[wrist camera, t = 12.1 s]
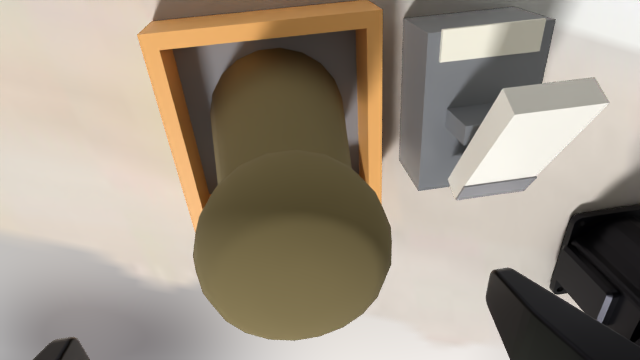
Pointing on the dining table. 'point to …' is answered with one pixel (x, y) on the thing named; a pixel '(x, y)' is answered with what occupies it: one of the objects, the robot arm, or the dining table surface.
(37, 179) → the dining table surface
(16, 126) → the dining table surface
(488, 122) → the breaker rocker
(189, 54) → the orange square tray
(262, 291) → the olive vase
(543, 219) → the dining table surface
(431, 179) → the breaker box
